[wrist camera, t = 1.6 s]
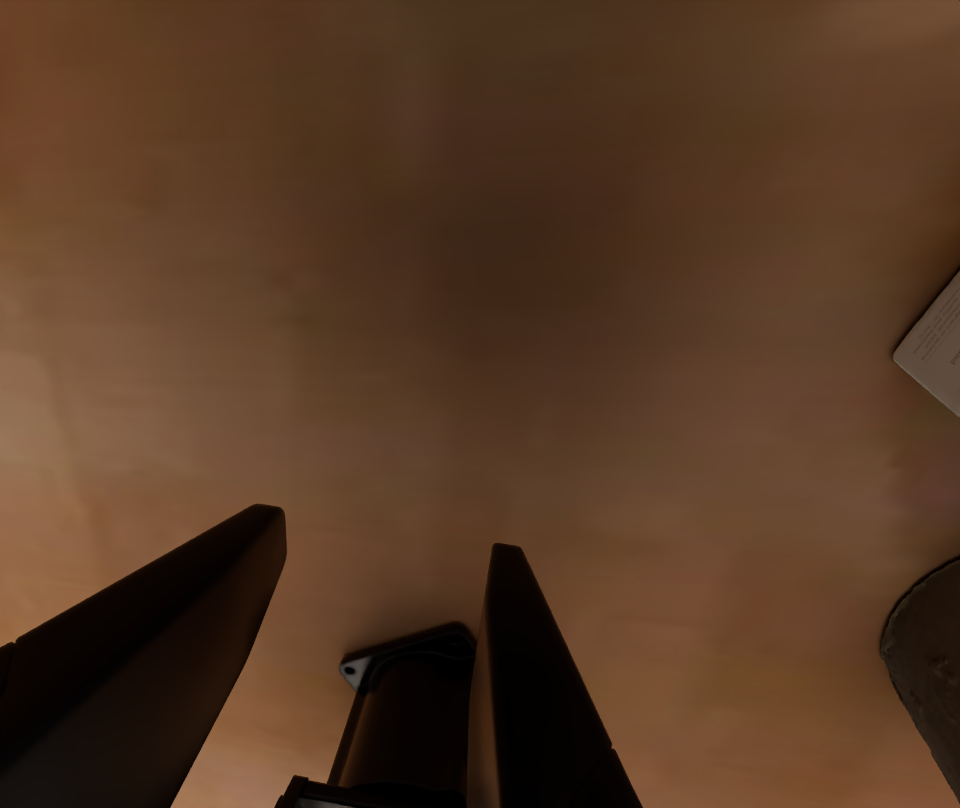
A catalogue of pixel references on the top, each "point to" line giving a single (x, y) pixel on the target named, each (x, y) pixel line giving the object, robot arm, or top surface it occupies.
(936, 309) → the white packaging box
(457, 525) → the top surface
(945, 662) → the pillar candle
